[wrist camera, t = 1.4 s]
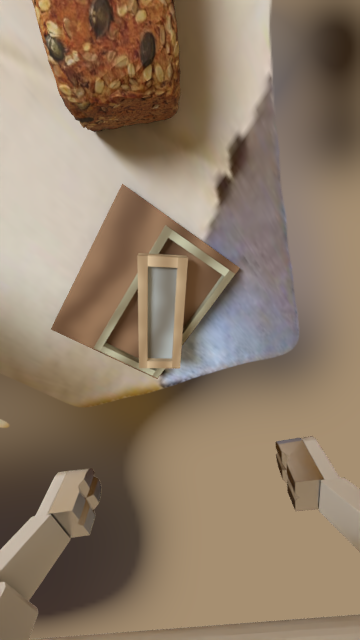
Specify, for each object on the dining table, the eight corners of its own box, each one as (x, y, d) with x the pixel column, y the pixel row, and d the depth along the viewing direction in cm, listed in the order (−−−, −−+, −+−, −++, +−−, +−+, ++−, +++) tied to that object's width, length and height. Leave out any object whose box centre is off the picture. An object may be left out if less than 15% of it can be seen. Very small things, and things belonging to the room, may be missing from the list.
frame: (140, 360, 35) (139, 368, 33) (138, 253, 28) (137, 255, 26) (178, 360, 35) (179, 368, 34) (186, 255, 29) (188, 258, 27)
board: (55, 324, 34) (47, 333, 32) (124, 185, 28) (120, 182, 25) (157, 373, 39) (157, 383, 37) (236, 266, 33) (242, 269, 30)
